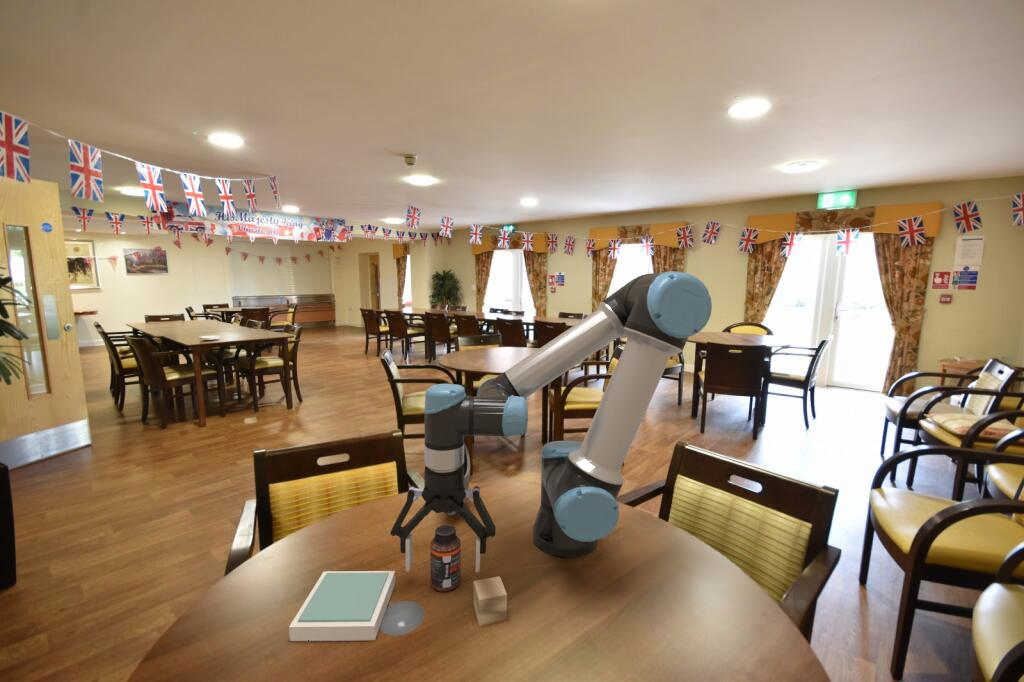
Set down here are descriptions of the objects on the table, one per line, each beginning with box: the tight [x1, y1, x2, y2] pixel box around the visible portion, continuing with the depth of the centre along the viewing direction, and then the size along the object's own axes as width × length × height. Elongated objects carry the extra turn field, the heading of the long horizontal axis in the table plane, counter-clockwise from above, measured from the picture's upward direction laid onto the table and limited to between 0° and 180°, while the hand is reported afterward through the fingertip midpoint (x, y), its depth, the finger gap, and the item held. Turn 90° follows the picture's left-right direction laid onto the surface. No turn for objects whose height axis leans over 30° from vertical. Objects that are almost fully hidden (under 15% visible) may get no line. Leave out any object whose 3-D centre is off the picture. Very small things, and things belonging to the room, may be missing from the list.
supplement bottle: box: [429, 524, 462, 592], centre depth 85 cm, size 6×6×11 cm
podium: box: [288, 570, 396, 642], centre depth 78 cm, size 14×14×3 cm
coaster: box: [379, 600, 425, 636], centre depth 77 cm, size 8×8×1 cm
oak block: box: [473, 576, 508, 626], centre depth 78 cm, size 5×5×5 cm
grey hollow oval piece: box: [446, 442, 471, 516], centre depth 113 cm, size 18×7×19 cm, turn 176°
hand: (443, 567), depth 86 cm, fingers open, 13 cm apart
